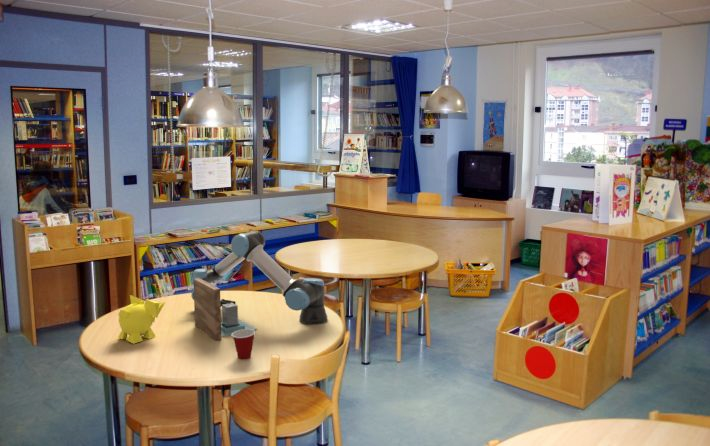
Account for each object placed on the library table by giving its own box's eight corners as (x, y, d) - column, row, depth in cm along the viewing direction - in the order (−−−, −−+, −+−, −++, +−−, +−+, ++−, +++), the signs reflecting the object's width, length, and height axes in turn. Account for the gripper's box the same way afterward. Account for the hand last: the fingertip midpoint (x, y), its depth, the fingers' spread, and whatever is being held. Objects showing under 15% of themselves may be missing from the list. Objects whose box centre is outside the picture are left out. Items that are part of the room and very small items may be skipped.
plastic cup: (233, 353, 286) (232, 328, 284) (256, 352, 287) (256, 328, 285) (230, 362, 276) (229, 336, 274) (254, 361, 277) (254, 336, 275)
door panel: (201, 325, 325) (199, 277, 320) (222, 339, 304) (221, 288, 300) (195, 326, 323) (193, 278, 318) (215, 340, 302) (214, 289, 298)
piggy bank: (167, 335, 310) (166, 298, 307) (135, 346, 293) (133, 307, 290) (141, 327, 320) (139, 291, 317) (109, 338, 304) (106, 300, 301)
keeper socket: (239, 319, 335) (239, 316, 334) (256, 329, 319) (256, 326, 318) (204, 326, 323) (204, 323, 322) (220, 337, 307) (220, 333, 307)
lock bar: (233, 324, 325) (232, 302, 323) (238, 327, 320) (237, 305, 318) (222, 326, 321) (221, 304, 319) (227, 330, 317) (226, 307, 315)
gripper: (228, 303, 349) (246, 313, 332) (186, 311, 334) (202, 321, 317) (228, 290, 347) (245, 299, 331) (186, 298, 332) (201, 307, 316)
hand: (224, 310), depth 324 cm, fingers open, 13 cm apart
